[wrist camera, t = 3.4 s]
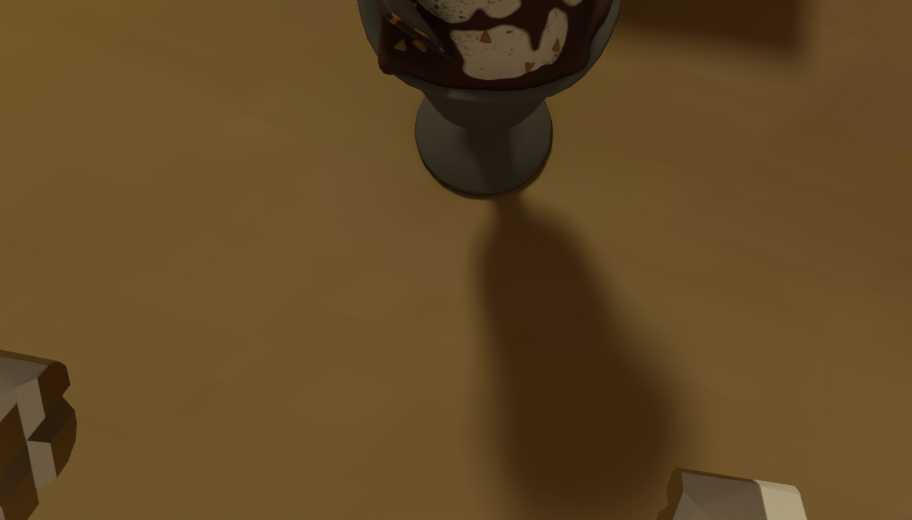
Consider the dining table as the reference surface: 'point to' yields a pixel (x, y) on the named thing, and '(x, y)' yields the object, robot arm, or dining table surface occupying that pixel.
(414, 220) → the dining table surface
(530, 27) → the sundae
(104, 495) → the dining table surface
